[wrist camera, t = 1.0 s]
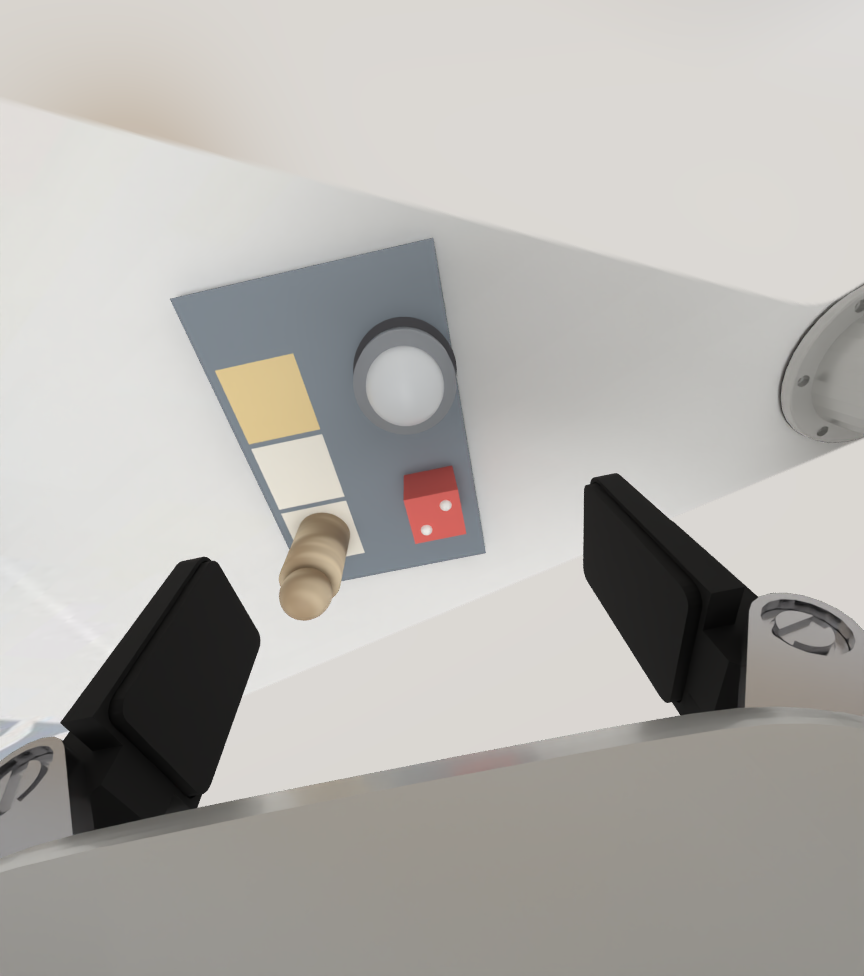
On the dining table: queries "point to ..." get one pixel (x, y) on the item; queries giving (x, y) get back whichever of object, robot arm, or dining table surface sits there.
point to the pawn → (314, 566)
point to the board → (339, 405)
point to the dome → (404, 381)
